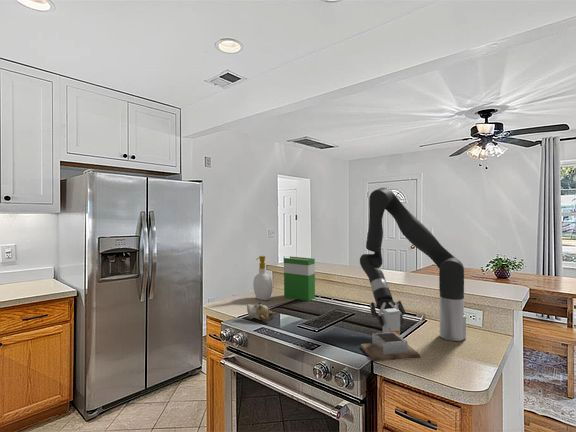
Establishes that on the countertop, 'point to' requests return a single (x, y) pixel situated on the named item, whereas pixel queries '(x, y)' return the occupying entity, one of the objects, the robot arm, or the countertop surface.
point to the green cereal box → (299, 278)
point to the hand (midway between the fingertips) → (392, 324)
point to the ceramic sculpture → (260, 312)
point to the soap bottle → (262, 282)
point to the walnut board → (377, 356)
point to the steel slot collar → (389, 343)
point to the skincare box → (391, 320)
